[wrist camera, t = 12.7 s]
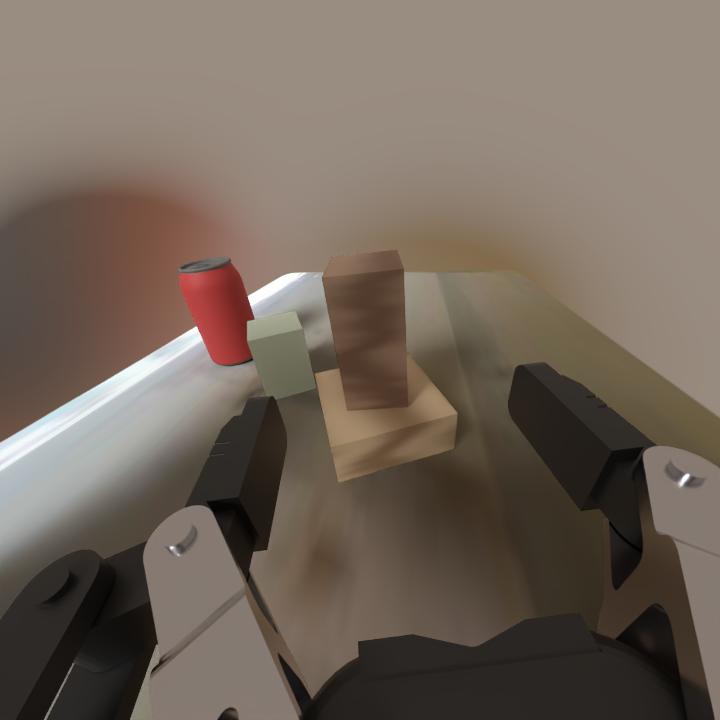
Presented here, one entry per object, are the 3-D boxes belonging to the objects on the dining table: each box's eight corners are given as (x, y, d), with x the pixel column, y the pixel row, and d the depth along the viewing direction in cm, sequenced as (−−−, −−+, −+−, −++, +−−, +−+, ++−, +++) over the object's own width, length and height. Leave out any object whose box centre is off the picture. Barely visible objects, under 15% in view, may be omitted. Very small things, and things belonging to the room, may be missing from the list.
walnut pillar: (347, 410, 21) (321, 277, 16) (350, 375, 25) (331, 257, 20) (408, 406, 21) (403, 268, 16) (402, 371, 25) (397, 249, 19)
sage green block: (268, 402, 29) (247, 341, 26) (266, 376, 33) (247, 321, 30) (316, 388, 30) (302, 328, 27) (308, 365, 34) (295, 310, 31)
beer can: (203, 361, 38) (160, 269, 32) (244, 339, 43) (214, 255, 36) (232, 373, 35) (191, 273, 28) (274, 348, 39) (246, 256, 33)
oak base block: (339, 485, 21) (330, 447, 19) (322, 407, 28) (314, 373, 26) (453, 452, 22) (457, 413, 20) (408, 386, 30) (407, 352, 28)
